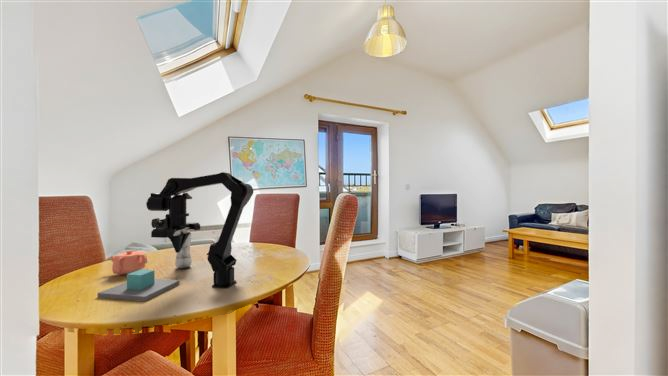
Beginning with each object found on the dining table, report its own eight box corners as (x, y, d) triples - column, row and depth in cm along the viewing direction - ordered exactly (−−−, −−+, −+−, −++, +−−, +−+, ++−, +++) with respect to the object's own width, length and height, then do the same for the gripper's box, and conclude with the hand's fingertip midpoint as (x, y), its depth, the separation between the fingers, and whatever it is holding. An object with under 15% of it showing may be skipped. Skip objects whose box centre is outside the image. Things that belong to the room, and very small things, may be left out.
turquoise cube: (154, 283, 96) (154, 270, 96) (140, 289, 91) (140, 275, 91) (141, 283, 97) (141, 269, 97) (126, 288, 92) (126, 274, 92)
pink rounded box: (109, 273, 112) (108, 250, 112) (143, 267, 121) (143, 246, 121) (111, 280, 104) (111, 255, 104) (148, 273, 113) (148, 250, 112)
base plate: (179, 284, 100) (179, 280, 100) (144, 301, 85) (144, 296, 85) (137, 281, 103) (137, 277, 103) (97, 297, 88) (97, 293, 88)
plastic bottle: (184, 270, 116) (184, 225, 116) (171, 269, 118) (171, 224, 118) (195, 266, 123) (195, 223, 123) (182, 265, 124) (182, 222, 124)
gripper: (177, 208, 111) (177, 245, 111) (137, 213, 92) (137, 257, 93) (201, 209, 109) (201, 247, 109) (165, 213, 91) (165, 259, 91)
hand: (177, 252), depth 100 cm, fingers closed
